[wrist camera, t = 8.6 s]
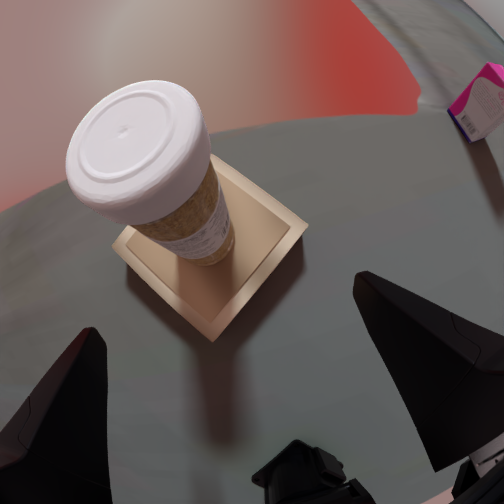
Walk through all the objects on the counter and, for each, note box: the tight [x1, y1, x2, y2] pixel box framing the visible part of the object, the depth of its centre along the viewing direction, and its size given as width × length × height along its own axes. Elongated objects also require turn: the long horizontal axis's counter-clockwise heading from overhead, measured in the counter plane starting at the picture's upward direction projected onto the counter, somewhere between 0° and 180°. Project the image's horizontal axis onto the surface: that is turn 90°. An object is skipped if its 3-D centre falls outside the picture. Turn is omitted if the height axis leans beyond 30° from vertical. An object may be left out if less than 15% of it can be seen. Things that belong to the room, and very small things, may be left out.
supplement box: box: [447, 62, 504, 143], centre depth 20 cm, size 6×6×12 cm
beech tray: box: [111, 153, 309, 342], centre depth 21 cm, size 11×11×3 cm
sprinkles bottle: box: [66, 80, 235, 266], centre depth 13 cm, size 5×5×14 cm
